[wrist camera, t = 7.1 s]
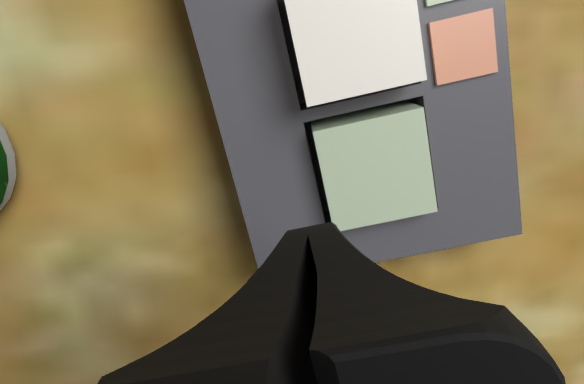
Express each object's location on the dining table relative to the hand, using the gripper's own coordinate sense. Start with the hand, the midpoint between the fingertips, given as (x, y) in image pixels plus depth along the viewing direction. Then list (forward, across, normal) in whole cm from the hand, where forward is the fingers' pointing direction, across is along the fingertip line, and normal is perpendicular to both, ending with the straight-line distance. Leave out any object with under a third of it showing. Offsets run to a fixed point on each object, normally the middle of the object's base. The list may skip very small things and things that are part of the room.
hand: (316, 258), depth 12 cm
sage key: (+10, -3, +1) cm, 10 cm away
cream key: (+9, -3, -5) cm, 11 cm away
